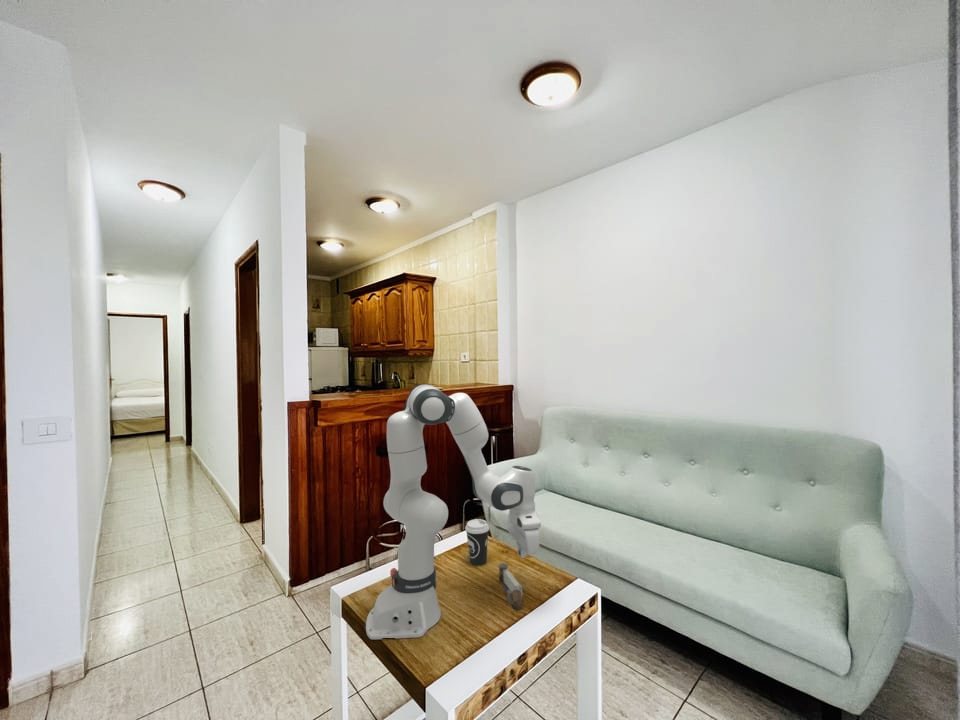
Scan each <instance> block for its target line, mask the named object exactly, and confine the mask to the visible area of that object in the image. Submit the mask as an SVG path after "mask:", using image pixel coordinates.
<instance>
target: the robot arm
mask: <svg viewBox="0 0 960 720" xmlns="http://www.w3.org/2000/svg"><path fill="white" fill-rule="evenodd" d="M479 410H480V409H478V407H477V405H476V403H474V401H473V400H472V398H471V397H470V395H468V394H467V393H464V392H456V393H452V394H450V395H448V394H446V393H444V392H442V391H441V390H440V389H439V388H438V387H436V386H435V385H431V384H428V383H421V384H418V385H416V386H414V387H413V388H412V389H411V390H410V391H409V393H408V395H407V398H406V401H405V403H404V406H403V410H402V411H401V410H400V411H397V412H395V413H393V414H392V415H390V416H389V418H388V419H387V422H386V445H387V446H386V447H387V453H388V460H389V470H390V480H389V481H390V483H389V488H388V490H387V492H386V493H385V495H384V497H383V502H382V504H383V508H384V510H385V512H386V514H387V515H389V516H390V517H391V518H392V519H393V520H395V521H397V522H399V523H401V524H403V525H404V527H405V537H404V539H403V540H402V541H401V542H400V543H399V545H398V546H397V568H396V567H392V568H391V569H390V577H391V584H389V586H387V588H386V587H385V588H386V589H384V590H382V592H380V593H379V594H378V595H377V598H376V600H375V604H374V607H373V608H372V609H371V610H370V611H369V612H368V615H367V617H366V620H365V621H366V622H365V632H366V633H365V634H366V635H367V637H368V638H369V639H370V640H383V639H382V638H395V639H411V638H421V637H423V636H424V635H425V634H426V633H427V631H428V630H429V629H431V628H433V627H434V626H435V625H436V624H437V623H438V622H439V620H440V619H441V616H442V610H441V607H440V605H439V600H438V595H437V589H436V588H437V570H436V566H435V543H436V542H435V541H436V538H437V535H438V533H439V532H441V530H443V529H444V527H445V525H446V524H447V521H448V518H449V509H448V505H447V504H446V503H445V502H444V500H442V499H440V497H438V496H437V495H435V494H433V493H429V492H427V491H424V490H423V489H422V486H421V482H422V481H421V480H422V476H424V475H425V473H426V472H427V469H428V464H427V463H428V462H427V457H426V449H425V442H424V435H423V430H424V427H425V425H426V426H427V425H429V426H432V425H438V424H442V423H446V425H447V427H448V428H449V430H450V432H451V435H452V437H453V439H454V440H455V443H456V444H457V446H458V448H459V450H460V451H461V453H462V456H463V458H464V461H465V464H466V465H467V468H468V471H469V474H470V475H471V481H472V492H473V494H474V496H475V497H476V498H477V499H478V500H480V501H482V502H484V503H486V504H487V505H489V506H491V507H492V508H494V509H496V510H498V511H501V512H503V511H508V510H509V511H508V515H507V531H508V533H509V535H511V536H512V537H513V539H514V540H515V541H516V546H517V547H516V548H517V554H518V555H519V557H520V558H521V559H525V558H527V555H537V554H538V553H539V551H540V541H541V540H540V537H541V536H540V535H541V534H540V528H541V527H542V524H541V523H542V521H541V520H540V518H539V517H538V515H537V511H536V502H535V496H536V480H535V474H534V472H533V470H532V469H531V468H529V467H526V466H522V465H512V466H511V468H510V470H508V471H507V472H506V473H505V474H503V475H502V476H498V475H496V474H495V473H493V472H492V471H491V470H490V469H489V467H488V465H487V462H486V459H485V457H484V454H483V453H482V449H483V448H484V447H485V446H486V444H487V442H488V440H489V435H490V434H489V430H488V427H487V424H486V423H485V420H484V418H483V416H482V414H481V412H480V411H479ZM372 613H373V614H372Z"/></svg>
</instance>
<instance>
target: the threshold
mask: <svg viewBox="0 0 960 720" xmlns="http://www.w3.org/2000/svg"><path fill="white" fill-rule="evenodd" d="M502 588H503V589H504V591H505V593H506V594H507V590H510V589H509V588H508V586H507V585H506V584H505V583H504V584H503V583H502ZM512 601H513V593H512Z"/></svg>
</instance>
